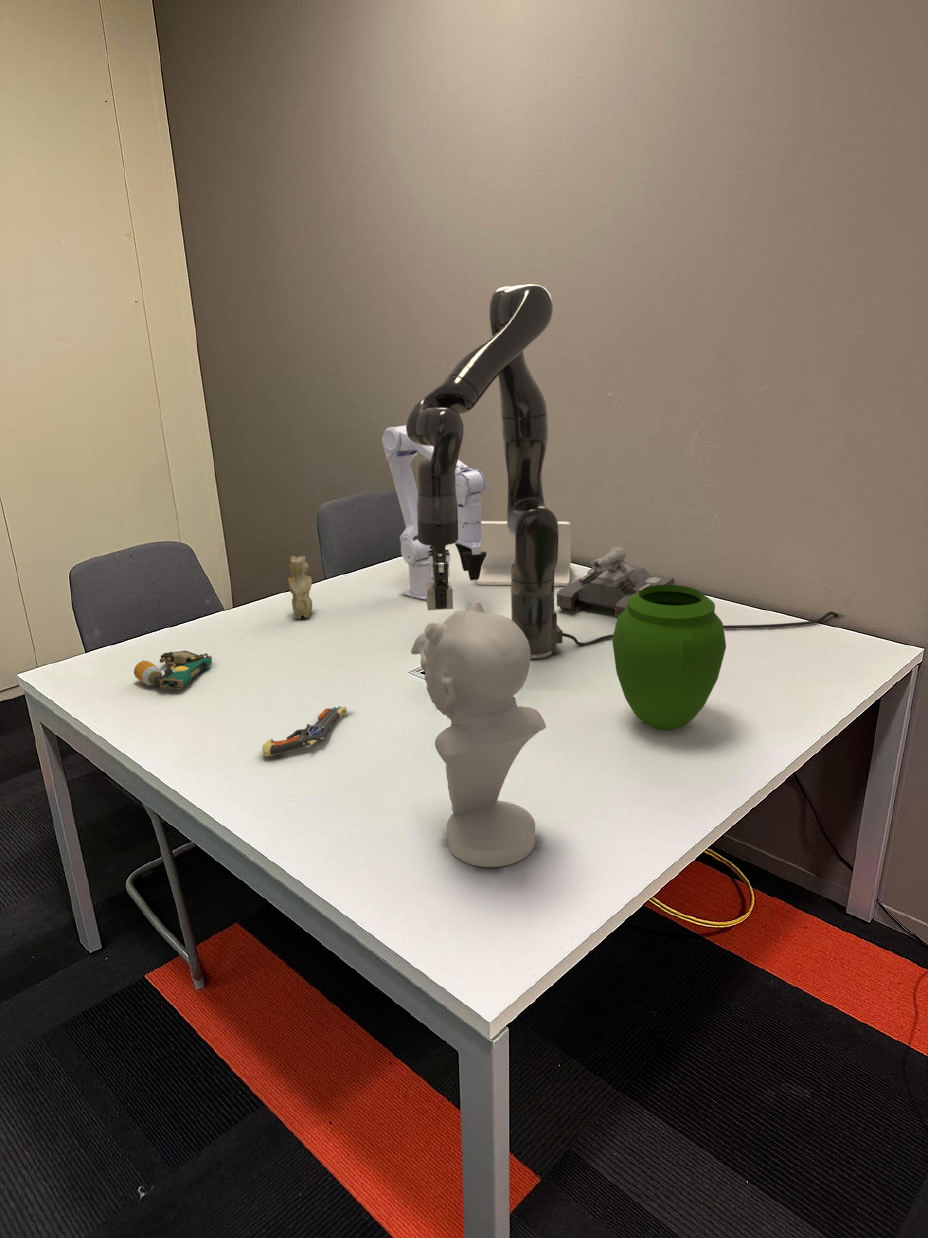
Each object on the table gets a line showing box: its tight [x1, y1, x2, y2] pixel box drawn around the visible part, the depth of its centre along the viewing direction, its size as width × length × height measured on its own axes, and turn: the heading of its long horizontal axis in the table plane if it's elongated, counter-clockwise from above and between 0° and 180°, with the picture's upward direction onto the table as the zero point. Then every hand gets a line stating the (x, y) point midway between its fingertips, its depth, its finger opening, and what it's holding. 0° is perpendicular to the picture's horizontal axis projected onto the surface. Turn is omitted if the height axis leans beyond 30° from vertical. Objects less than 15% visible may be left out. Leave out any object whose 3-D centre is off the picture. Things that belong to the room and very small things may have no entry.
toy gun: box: [261, 705, 348, 758], centre depth 154 cm, size 3×19×10 cm
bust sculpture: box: [410, 599, 547, 868], centre depth 121 cm, size 16×24×35 cm
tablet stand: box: [476, 520, 572, 587], centre depth 236 cm, size 18×25×17 cm
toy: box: [556, 546, 676, 620], centre depth 212 cm, size 25×20×15 cm
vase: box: [611, 584, 727, 731], centre depth 151 cm, size 20×20×24 cm
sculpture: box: [287, 554, 313, 619], centre depth 211 cm, size 6×7×15 cm
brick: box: [426, 581, 454, 611], centre depth 163 cm, size 4×5×4 cm
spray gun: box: [133, 650, 213, 690], centre depth 180 cm, size 4×17×15 cm
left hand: (471, 574), depth 210 cm, fingers open, 7 cm apart
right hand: (440, 603), depth 164 cm, fingers closed on brick, 4 cm apart
